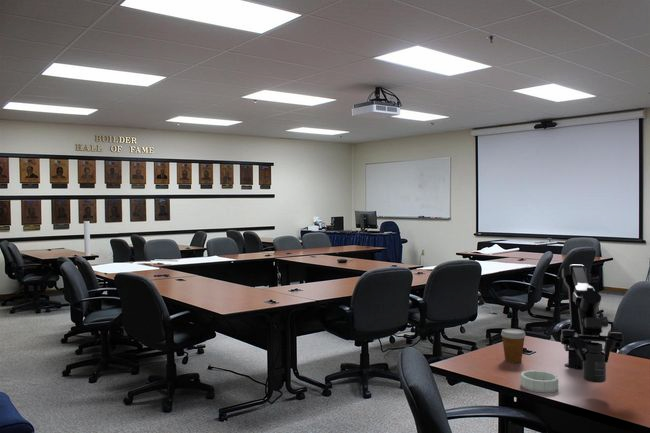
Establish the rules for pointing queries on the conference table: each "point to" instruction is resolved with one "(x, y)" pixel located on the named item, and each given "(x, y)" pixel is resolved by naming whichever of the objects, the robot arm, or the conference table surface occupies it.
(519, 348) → the disposable coffee cup
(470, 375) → the conference table surface
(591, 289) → the robot arm
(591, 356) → the supplement bottle
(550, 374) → the ring stand
